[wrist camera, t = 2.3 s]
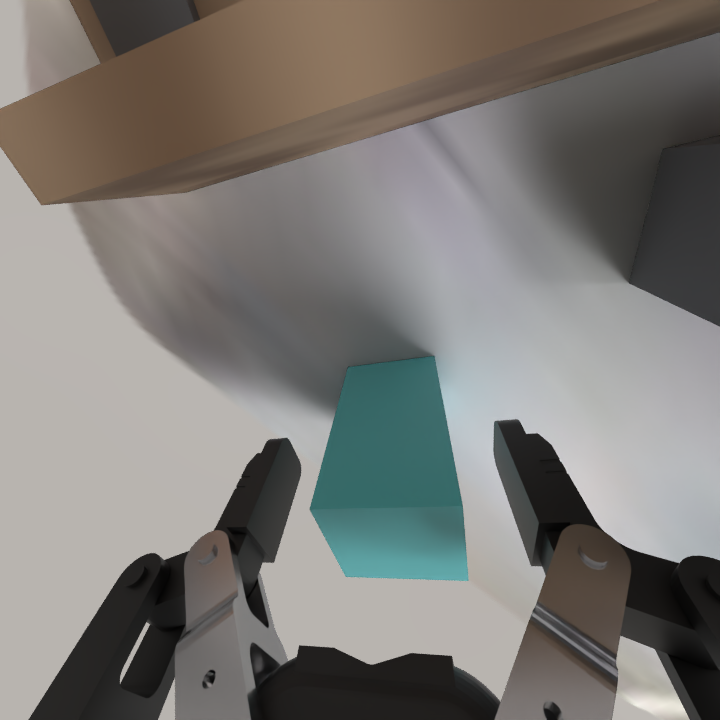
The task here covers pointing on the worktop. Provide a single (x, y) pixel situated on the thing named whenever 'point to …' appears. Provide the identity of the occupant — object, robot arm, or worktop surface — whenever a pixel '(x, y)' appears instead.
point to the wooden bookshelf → (299, 80)
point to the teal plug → (392, 477)
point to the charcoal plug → (684, 231)
